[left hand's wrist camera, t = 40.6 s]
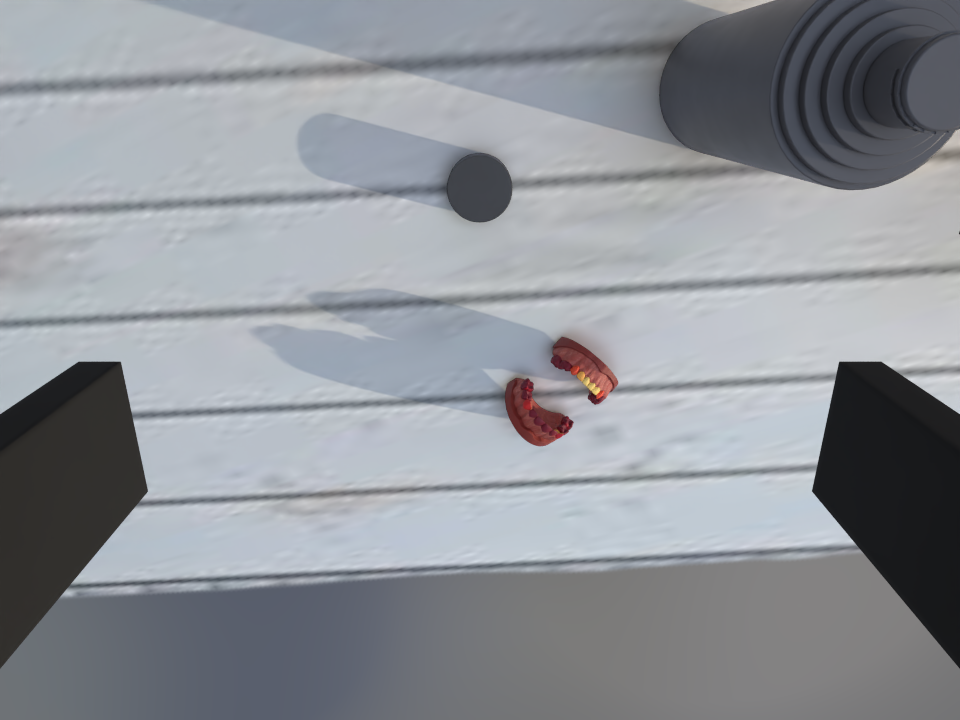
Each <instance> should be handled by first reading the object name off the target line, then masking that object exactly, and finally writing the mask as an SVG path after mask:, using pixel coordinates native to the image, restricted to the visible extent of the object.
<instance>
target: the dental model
mask: <svg viewBox="0 0 960 720" xmlns="http://www.w3.org/2000/svg"><path fill="white" fill-rule="evenodd" d="M553 348H554V349H553V355H554V357H552V359H551V363H553V364H554V366H555V367H556V368H558V369H565V371H571V374H572V375H576V374H577V378H578V379H579V380H580V381H582V382H583V384H584V385H585V386H587V385H588V386H587V388H588V389H589V395H588V399H589V400H590V401H591V402H592V403H594V404H595V405H596V404H599V403H601V402H602V401H603V400H604V399H606V397H607V396H608V394H609V392H612V391H613V390H614V388H615V387H616V386H617V385H618V380H617V378H616V377H615V376H614V374H613V373H612V372H611V370H610V369H609V368H608V367H607V366H606V365H605V364H604V363H603V362H602V361H601V360H600V359H599V358H597V357H596V356H595V355H594V354H593V353H591V352H590V351H589V350H588V349H586V348H585V347H583V346H582V345H580V344H578V343H577V342H575V341H573V340H571V339H568V338H565V337H561V338H560V339H559V341H558V342H557V343H556V344H555V345H554V346H553ZM578 372H579V373H578ZM589 382H590V383H589ZM533 385H534V384H533V382H530V380H529V379H528V378H527V379H525V380H524V379H519V378H515V379H514V380H512V381H511V382H509V383H508V384H507V388H506V392H505V403H506V409H507V412H508V415H509V418H510V420H511V422H512V424H513V426H514V427H515V429H516V431H517V432H518V433H519V434H520V435H521V436H522V437H523V438H524V439H525V440H526V441H528V442H529V443H531V444H533V445H536V446H546V445H548V444H550V443H551V442H553V441H555V440H556V439H558V438H560V437H562V436H563V435H565V434H567V433H568V432H569V430H570V429H571V428H572V425H573V423H574V422H573V421H572V420H570V419H569V417H568V416H564V415H563V414H561V413H552V412H549V411H546V410H544V409H543V408H541V407H540V406H539V405H538V404H537V403H536V402H535V401H534V400H533V398H532V393H531V392H532V391H533V389H534V388H533Z"/></svg>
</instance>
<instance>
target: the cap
mask: <svg viewBox="0 0 960 720" xmlns="http://www.w3.org/2000/svg"><path fill="white" fill-rule="evenodd" d="M447 194H448V199H449V202H450V204H451V206H452V207H453V209H454V210H455V211H456V212H457V213H458V214H459V215H460V216H461V217H463V218H465V219H467V220H469V221H473V222H487V221H490V220H493V219H495V218H496V217H498V216H499V215H501V214H502V213H503V212H504V211H505V209H506V208H507V206H508V205H509V202H510V200H511V196H512V181H511V178H510V175H509V173H508V170H507V169H506V167H505V166H504V164H503V163H502V162H501V161H500V160H498V159H497V158H495V157H494V156H491V155H489V154H485V153H475V154H471V155H468V156H466V157H464V158H462V159H461V160H460V161H459V162H458V163H457V164H456V165H455V166H454V168H453V169H452V171H451V173H450V176H449V179H448V183H447Z"/></svg>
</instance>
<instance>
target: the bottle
mask: <svg viewBox="0 0 960 720" xmlns="http://www.w3.org/2000/svg"><path fill="white" fill-rule="evenodd" d="M660 105H661V110H662V114H663V117H664V120H665V122H666V124H667V126H668V128H669V129H670V131H671V132H672V134H673V135H674V136H675V137H676V138H677V139H678V140H679V141H680V142H681V143H683V144H684V145H685V146H687V147H689V148H690V149H693V150H695V151H698V152H701V153H705V154H708V155H712V156H716V157H719V158H723V159H727V160H731V161H734V162H738V163H742V164H745V165H749V166H753V167H757V168H760V169H764V170H768V171H771V172H775V173H779V174H783V175H786V176H790V177H794V178H797V179H801V180H805V181H809V182H812V183H816V184H820V185H824V186H827V187H832V188H836V189H844V190H863V189H869V188H875V187H879V186H882V185H885V184H889V183H891V182H893V181H896V180H898V179H900V178H902V177H904V176H906V175H908V174H910V173H911V172H913V171H915V170H916V169H918V168H919V167H920V166H922V165H923V164H925V163H926V162H927V161H928V160H929V159H931V158H932V157H933V156H934V155H935V154H936V153H937V152H938V151H939V150H940V149H941V148H942V147H943V146H944V145H945V144H946V142H947V141H948V140H949V139H950V138H951V137H952V135H953V134H954V133H955V131H956V130H958V129H960V0H775V1H771V2H768V3H765V4H762V5H759V6H756V7H752V8H749V9H746V10H743V11H740V12H736V13H733V14H730V15H727V16H724V17H720V18H717V19H714V20H711V21H708V22H706V23H704V24H702V25H700V26H698V27H697V28H695V29H694V30H692V31H691V32H690V33H689V34H688V35H686V36H685V37H684V38H683V39H682V40H681V41H680V43H679V44H678V45H677V46H676V48H675V49H674V50H673V52H672V54H671V55H670V57H669V59H668V61H667V63H666V65H665V68H664V71H663V74H662V78H661V84H660Z"/></svg>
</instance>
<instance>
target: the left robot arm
mask: <svg viewBox="0 0 960 720" xmlns="http://www.w3.org/2000/svg"><path fill="white" fill-rule="evenodd" d="M147 492H148V489H147V485H146V480H145V475H144V470H143V465H142V461H141V456H140V451H139V446H138V442H137V437H136V432H135V427H134V423H133V418H132V413H131V408H130V404H129V399H128V394H127V389H126V385H125V380H124V375H123V370H122V365H121V362H78V363H76V364H75V365H73V366H72V367H70V368H69V369H67V370H66V371H64V372H63V373H61V374H60V375H58V376H57V377H55V378H54V379H52V380H51V381H49V382H48V383H46V384H45V385H43V386H42V387H40V388H39V389H37V390H36V391H34V392H33V393H31V394H30V395H28V396H27V397H25V398H24V399H22V400H21V401H19V402H18V403H16V404H15V405H13V406H12V407H10V408H9V409H7V410H6V411H4V412H3V413H1V414H0V668H1V667H2V666H3V665H4V663H5V662H6V661H7V660H8V659H9V657H10V656H11V655H12V654H13V653H14V651H15V650H16V649H17V648H18V647H19V645H20V644H21V643H22V642H23V641H24V639H25V638H26V637H27V636H28V635H29V633H30V632H31V631H32V630H33V629H34V627H35V626H36V625H37V624H38V623H39V621H40V620H41V619H42V618H43V617H44V615H45V614H46V613H47V612H48V611H49V609H50V608H51V607H52V606H53V605H54V603H55V602H56V601H57V600H58V599H59V597H60V596H61V595H62V594H63V593H64V591H65V590H66V589H67V588H68V587H69V585H70V584H71V583H72V582H73V581H74V579H75V578H76V577H77V576H78V575H79V573H80V572H81V571H82V570H83V569H84V567H85V566H86V565H87V564H88V563H89V561H90V560H91V559H92V558H93V557H94V555H95V554H96V553H97V552H98V551H99V549H100V548H101V547H102V546H103V545H104V543H105V542H106V541H107V540H108V539H109V537H110V536H111V535H112V534H113V533H114V531H115V530H116V529H117V528H118V527H119V525H120V524H121V523H122V522H123V521H124V519H125V518H126V517H127V516H128V515H129V513H130V512H131V511H132V510H133V509H134V507H135V506H136V505H137V504H138V503H139V501H140V500H141V499H142V498H143V497H144V495H145V494H146V493H147ZM812 492H813V493H814V494H815V495H816V497H817V498H818V499H819V500H820V501H821V503H822V504H823V505H824V506H825V507H826V509H827V510H828V511H829V512H830V513H831V515H832V516H833V517H834V518H835V519H836V521H837V522H838V523H839V524H840V525H841V527H842V528H843V529H844V530H845V531H846V533H847V534H848V535H849V536H850V537H851V539H852V540H853V541H854V542H855V543H856V545H857V546H858V547H859V548H860V549H861V551H862V552H863V553H864V554H865V555H866V557H867V558H868V559H869V560H870V561H871V563H872V564H873V565H874V566H875V567H876V569H877V570H878V571H879V572H880V573H881V575H882V576H883V577H884V578H885V579H886V581H887V582H888V583H889V584H890V585H891V587H892V588H893V589H894V590H895V591H896V593H897V594H898V595H899V596H900V597H901V599H902V600H903V601H904V602H905V603H906V605H907V606H908V607H909V608H910V609H911V611H912V612H913V613H914V614H915V615H916V617H917V618H918V619H919V620H920V621H921V623H922V624H923V625H924V626H925V627H926V629H927V630H928V631H929V632H930V633H931V635H932V636H933V637H934V638H935V639H936V641H937V642H938V643H939V644H940V645H941V647H942V648H943V649H944V650H945V651H946V653H947V654H948V655H949V656H950V657H951V659H952V660H953V661H954V662H955V663H956V665H957V666H958V667H959V668H960V414H959V413H957V412H956V411H954V410H953V409H951V408H950V407H948V406H947V405H945V404H944V403H942V402H941V401H939V400H938V399H936V398H935V397H933V396H932V395H930V394H929V393H927V392H926V391H924V390H923V389H921V388H920V387H918V386H917V385H915V384H914V383H912V382H911V381H909V380H908V379H906V378H905V377H903V376H902V375H900V374H899V373H897V372H896V371H894V370H893V369H891V368H890V367H888V366H887V365H885V364H884V363H882V362H839V365H838V370H837V375H836V380H835V385H834V389H833V394H832V399H831V404H830V408H829V413H828V418H827V423H826V427H825V432H824V437H823V442H822V446H821V451H820V456H819V461H818V465H817V470H816V475H815V480H814V485H813V489H812Z"/></svg>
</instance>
